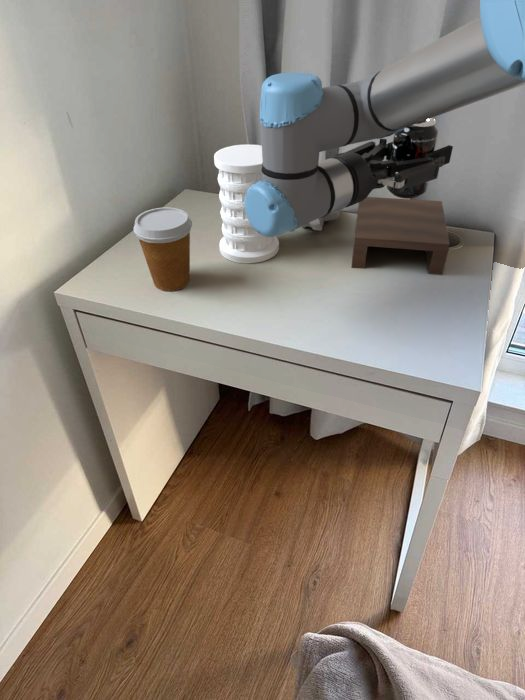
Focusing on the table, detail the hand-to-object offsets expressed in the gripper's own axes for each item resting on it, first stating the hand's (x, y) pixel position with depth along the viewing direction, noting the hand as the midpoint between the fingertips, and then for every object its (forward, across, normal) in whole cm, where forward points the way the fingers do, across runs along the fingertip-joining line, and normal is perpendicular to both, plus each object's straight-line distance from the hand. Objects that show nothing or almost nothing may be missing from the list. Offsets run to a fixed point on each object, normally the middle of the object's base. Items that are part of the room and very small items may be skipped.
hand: (430, 148), depth 85 cm
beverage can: (-5, 0, -7) cm, 8 cm away
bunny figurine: (-8, -19, -18) cm, 28 cm away
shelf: (-3, -1, -18) cm, 19 cm away
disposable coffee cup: (-43, -20, -18) cm, 50 cm away
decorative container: (-25, -20, -18) cm, 37 cm away
